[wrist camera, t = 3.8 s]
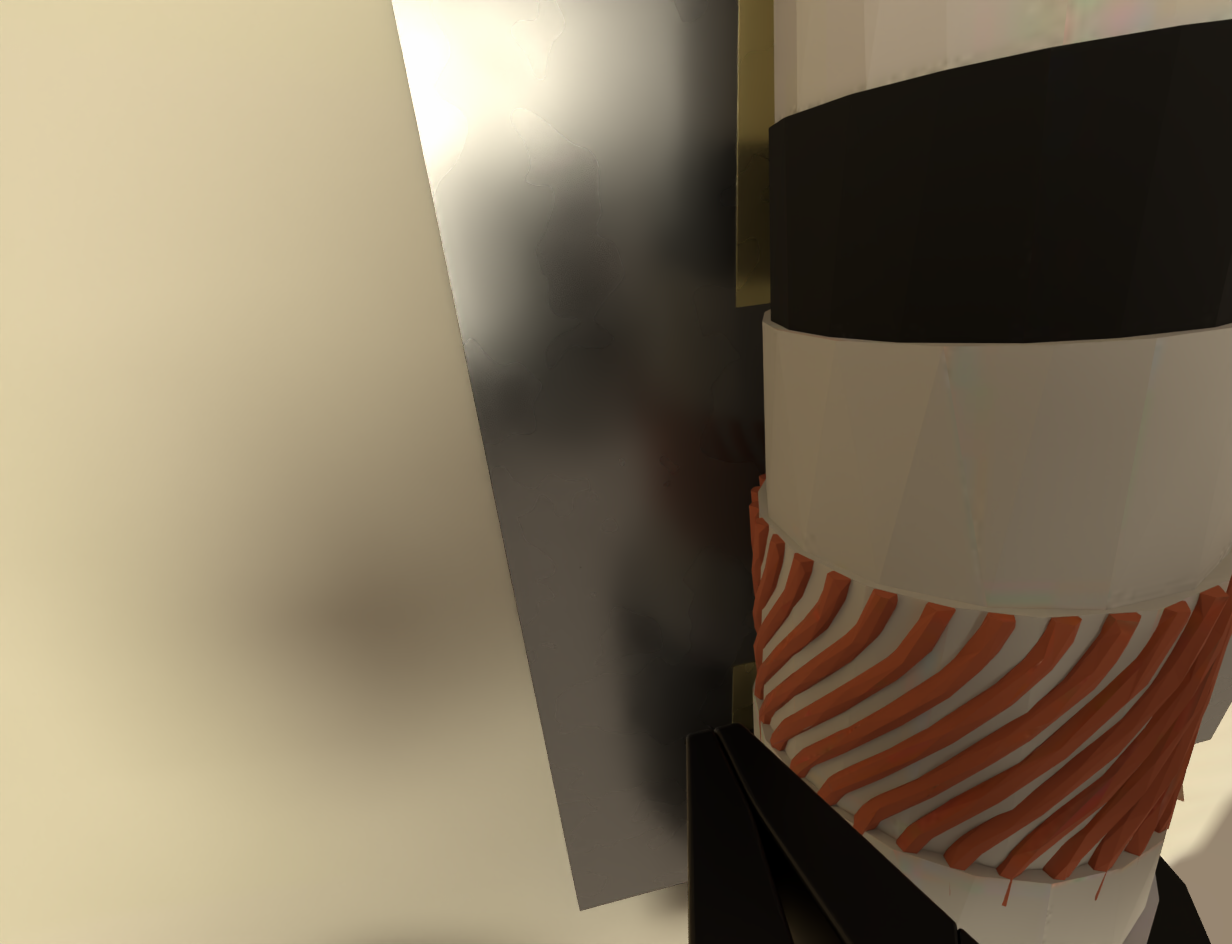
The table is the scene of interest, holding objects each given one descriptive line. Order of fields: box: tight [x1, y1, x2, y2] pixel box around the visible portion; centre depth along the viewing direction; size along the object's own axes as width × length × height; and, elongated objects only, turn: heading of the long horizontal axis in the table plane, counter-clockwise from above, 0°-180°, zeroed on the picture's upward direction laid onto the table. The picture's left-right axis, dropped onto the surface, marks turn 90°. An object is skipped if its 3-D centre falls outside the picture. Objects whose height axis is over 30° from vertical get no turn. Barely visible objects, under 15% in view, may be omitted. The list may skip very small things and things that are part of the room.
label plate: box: [392, 0, 1232, 911], centre depth 16 cm, size 30×26×1 cm
